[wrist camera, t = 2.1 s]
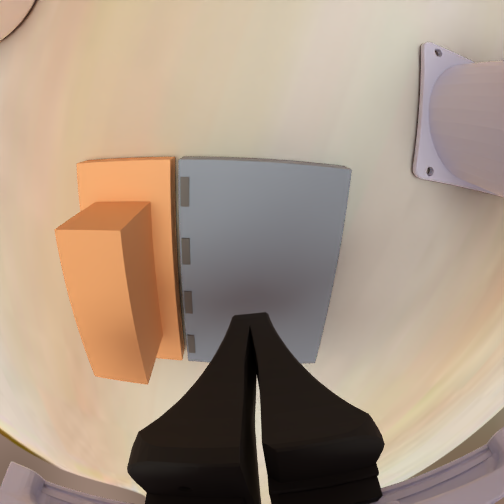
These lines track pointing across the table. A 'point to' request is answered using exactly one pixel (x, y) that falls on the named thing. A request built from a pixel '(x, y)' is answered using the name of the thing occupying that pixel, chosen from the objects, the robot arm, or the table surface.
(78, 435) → the table surface
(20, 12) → the can
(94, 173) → the stub
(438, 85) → the robot arm
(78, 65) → the table surface
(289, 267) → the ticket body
